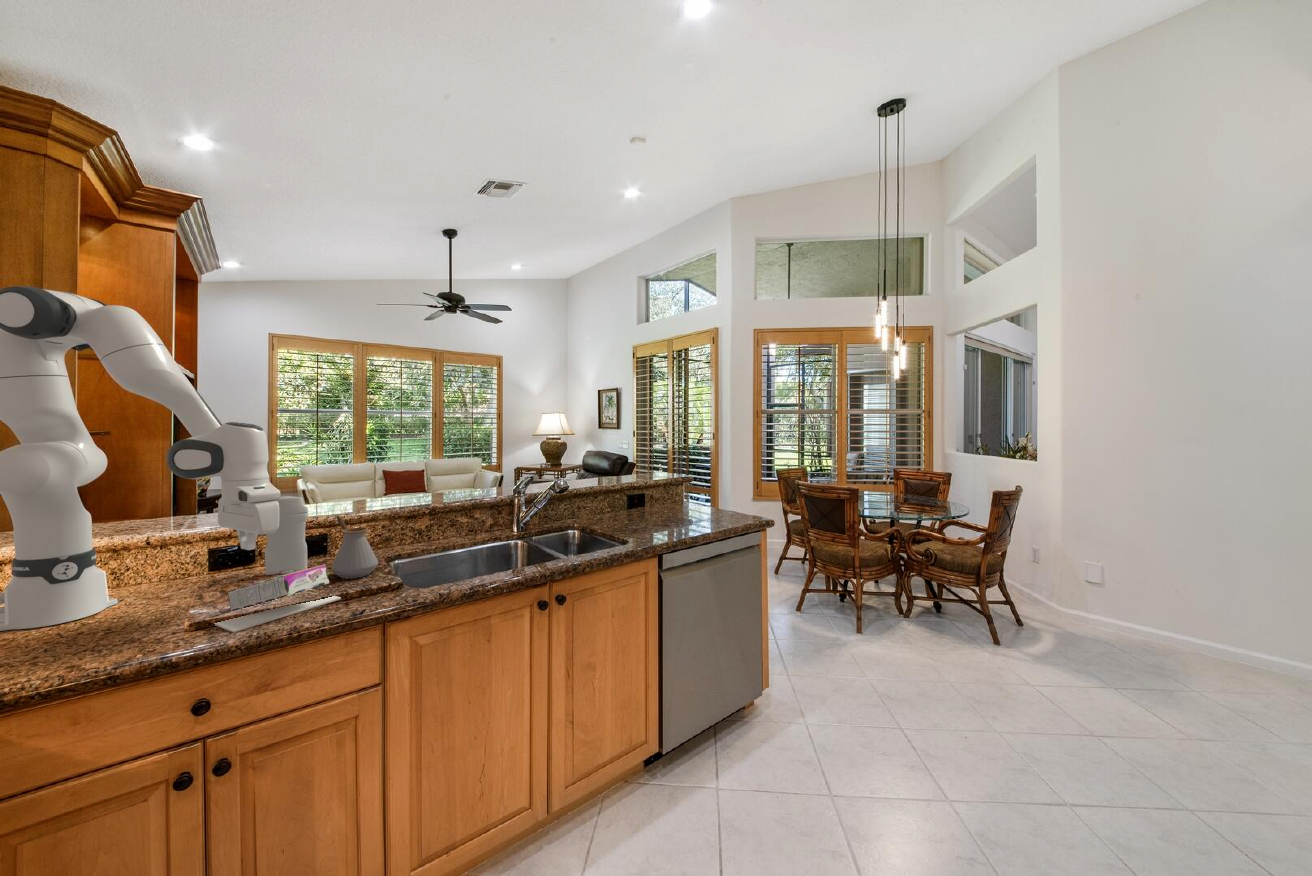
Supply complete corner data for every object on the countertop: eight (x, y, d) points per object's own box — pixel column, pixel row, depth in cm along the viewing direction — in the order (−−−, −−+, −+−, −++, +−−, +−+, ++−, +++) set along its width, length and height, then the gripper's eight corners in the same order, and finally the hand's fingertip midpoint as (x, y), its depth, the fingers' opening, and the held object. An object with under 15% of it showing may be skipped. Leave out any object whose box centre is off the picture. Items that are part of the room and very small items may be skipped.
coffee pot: (384, 574, 144) (383, 522, 143) (338, 583, 135) (337, 528, 135) (358, 560, 158) (358, 512, 158) (316, 567, 150) (315, 517, 149)
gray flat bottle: (308, 566, 151) (306, 493, 150) (309, 569, 148) (308, 495, 147) (263, 573, 144) (261, 497, 143) (264, 577, 141) (262, 498, 140)
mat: (203, 620, 110) (203, 618, 110) (310, 590, 130) (310, 589, 130) (233, 632, 104) (233, 630, 104) (340, 599, 124) (340, 597, 124)
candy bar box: (271, 578, 125) (326, 563, 122) (275, 597, 125) (330, 583, 122) (225, 590, 114) (284, 574, 111) (229, 612, 114) (289, 596, 111)
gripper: (208, 489, 121) (210, 546, 121) (253, 495, 112) (255, 557, 112) (239, 486, 127) (241, 541, 127) (284, 492, 117) (286, 550, 118)
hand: (248, 548), depth 120 cm, fingers closed
